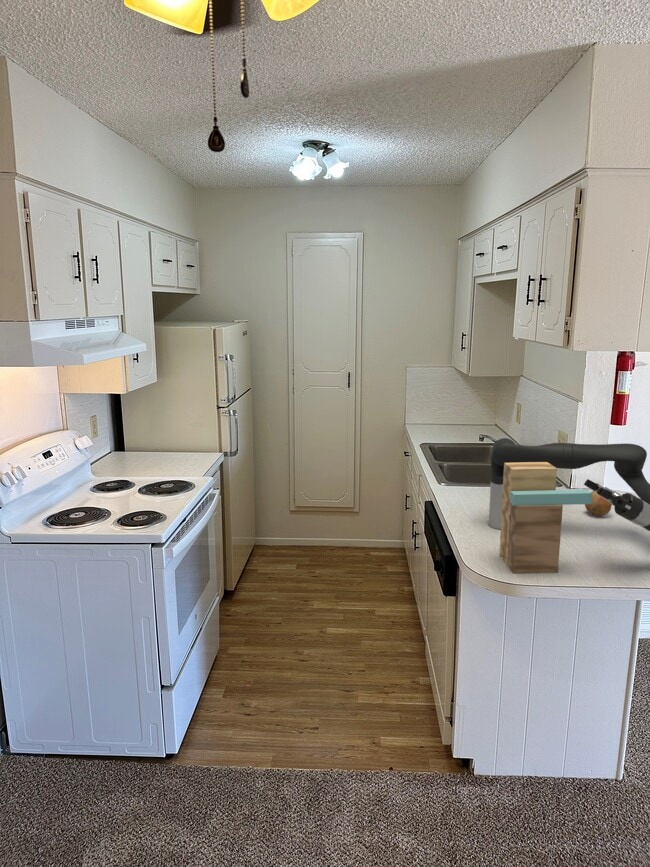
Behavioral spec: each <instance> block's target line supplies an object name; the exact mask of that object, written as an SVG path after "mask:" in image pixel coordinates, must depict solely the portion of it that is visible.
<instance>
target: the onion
mask: <svg viewBox="0 0 650 867" xmlns="http://www.w3.org/2000/svg"><path fill="white" fill-rule="evenodd" d="M590 492H591V493H592V503H591V504H584V506H585V509H586V511H587V512H589V514H591V515H592V516H595V515H596V517H602V516H606V515H607V514H608V513H610V511H611V510H612V507H613V505H612V504H611V503H609V502H607V500H605V499H604V498H602V497H600V496H599V494H597V492H594V491H593V490H592V491H590Z"/></svg>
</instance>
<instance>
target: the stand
mask: <svg viewBox="0 0 650 867" xmlns="http://www.w3.org/2000/svg"><path fill="white" fill-rule="evenodd" d="M557 475H558V468H556V467H554V466H553V465H551V464H550V463H548V462H518V463H504V477H503V496H502V516H501V529H500V539H499V557H500V558H501V557H502V558H503V559H502V558H501V559H502V560H503V561H505V562H504V563H505V564H506V566H508V560H509V542H510V524H511V505H512V504H511V503H510V491H547V490H557V489H556V488H557Z"/></svg>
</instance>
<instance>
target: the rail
mask: <svg viewBox="0 0 650 867" xmlns="http://www.w3.org/2000/svg"><path fill="white" fill-rule="evenodd" d="M591 492H592V491H590V490H588V489H563V490H561V489H560V490H559V489H556V490H547V491H510V503H511V504H512V505H513V506H521V505H563V506H565V505H567V506H568V505H569V506H570V505H585V504H591V503H592V493H591Z"/></svg>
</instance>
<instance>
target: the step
mask: <svg viewBox="0 0 650 867" xmlns="http://www.w3.org/2000/svg"><path fill="white" fill-rule="evenodd" d="M563 506H564V505H521V506H513V505H511V524H510V542H509V560H508V565H507V567H508V568H509V570H510V569H511V570H510V571H511V573H512V574H545V573H546V574H547V573H548V574H550V573H553V574H555V573H559V564H560V560H559V559H560V549H561V533H562V520H563Z"/></svg>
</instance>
